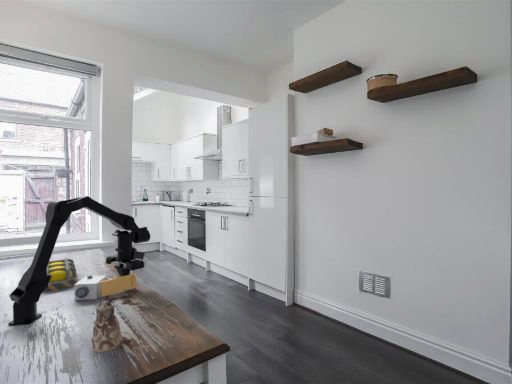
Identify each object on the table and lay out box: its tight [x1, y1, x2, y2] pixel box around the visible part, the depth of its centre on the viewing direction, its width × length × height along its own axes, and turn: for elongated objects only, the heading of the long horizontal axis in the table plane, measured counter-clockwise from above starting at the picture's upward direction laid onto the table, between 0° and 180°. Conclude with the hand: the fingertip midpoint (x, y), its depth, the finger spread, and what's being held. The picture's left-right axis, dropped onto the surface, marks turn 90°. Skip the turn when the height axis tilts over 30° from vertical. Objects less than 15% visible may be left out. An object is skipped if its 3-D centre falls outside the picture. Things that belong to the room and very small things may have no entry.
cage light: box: [43, 257, 78, 293], centre depth 136 cm, size 15×8×30 cm
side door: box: [97, 273, 137, 300], centre depth 119 cm, size 15×1×6 cm, turn 141°
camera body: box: [73, 274, 108, 301], centre depth 118 cm, size 12×8×7 cm, turn 6°
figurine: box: [91, 297, 122, 353], centre depth 81 cm, size 7×7×12 cm
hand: (124, 282), depth 125 cm, fingers closed
